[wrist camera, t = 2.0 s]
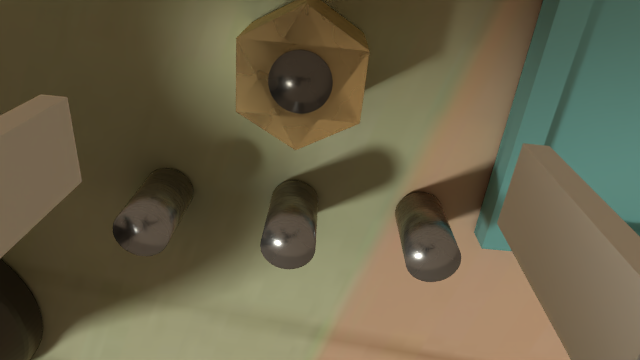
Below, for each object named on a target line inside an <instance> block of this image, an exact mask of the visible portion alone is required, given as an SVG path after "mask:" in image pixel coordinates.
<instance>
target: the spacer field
mask: <svg viewBox="0 0 640 360" xmlns="http://www.w3.org/2000/svg"><path fill="white" fill-rule="evenodd" d="M192 197H193V187H192V184H191V182H190V180H189V179H188V178H187V177H186V176H185V175H184V174H182V173H181V172H179V171H177V170H174V169H170V168H162V169H158V170H156V171H154V172H152V173H151V174H150V175H149V177H148V178H147V179H146V181H145V182H144V183H143V184H142V186H141V187H140V188H139V190H138V191H137V192H136V193H135V195H134V196H133V197H132V199H131V200H130V201H129V202H128V204H127V205H126V206H125V208H124V209H123V210H122V211H121V213H120V214H119V215H118V216H117V218H116V219H115V221H114V223H113V234H114V237H115V239H116V241H117V242H118V243H119V244H120V246H122V247H123V248H124V249H125V250H127V251H129V252H131V253H133V254H136V255H139V256H152V255H156V254H158V253H160V252H161V251H163V250H164V249H165V247H166V246H167V244H168V242H169V240H170V238H171V236H172V235H173V233H174V231H175V229H176V227H177V225H178V224H179V222H180V220H181V218H182V216H183V214H184V213H185V211H186V209H187V207H188V205H189V203H190V202H191V200H192ZM317 213H318V197H317V194H316V192H315V190H314V189H313V188H312V187H311V186H310V185H308V184H307V183H305V182H302V181H298V180H290V181H286V182H283V183H281V184H280V185H278V186H277V187H276V188H275V190H274V191H273V194H272V197H271V201H270V206H269V210H268V214H267V218H266V222H265V226H264V230H263V235H262V239H261V244H260V247H261V252H262V254H263V256H264V257H265V259H266V260H267V261H268V262H270V263H271V264H272V265H274V266H276V267H279V268H283V269H295V268H299V267H302V266H304V265H306V264H307V263H308V262H309V261H310V260H311V259H312V258H313V256H314V253H315V246H316V229H317ZM395 217H396V222H397V226H398V231H399V235H400V240H401V245H402V249H403V254H404V258H405V263H406V267H407V269H408V271H409V273H410V274H411V275H412V276H413V277H415V278H417V279H419V280H421V281H426V282H436V281H441V280H444V279H446V278H448V277H449V276H451V275H452V274H453V273H454V272H455V271H456V270H457V269H458V267H459V265H460V262H461V253H460V250H459V248H458V246H457V243H456V241H455V238H454V236H453V233H452V231H451V228H450V226H449V223H448V221H447V218H446V216H445V213H444V211H443V208H442V206H441V203H440V202H439V200H438V199H437V198H436V197H435V196H433V195H431V194H429V193H425V192H416V193H412V194H409V195H407V196H405V197H404V198H403V199H402V200H401V201H400V202H399V203H398V205H397V207H396V210H395Z"/></svg>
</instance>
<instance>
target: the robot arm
mask: <svg viewBox="0 0 640 360" xmlns="http://www.w3.org/2000/svg"><path fill="white" fill-rule="evenodd" d="M81 182H82V178H81V173H80V167H79V161H78V155H77V149H76V143H75V138H74V132H73V126H72V120H71V114H70V109H69V103H68V97H63V96H53V95H43V94H40V95H38V96H36V97H35V98H33V99H31V100H29V101H27V102H25V103H23V104H21V105H19V106H17V107H15V108H13V109H12V110H10V111H8V112H6V113H4V114H2V115H0V258H1V257H2V256H3V255H5V254H6V253H7V252H8V251H9V250H10V249H11V248H12V247H13V246H14V245H15V244H16V243H17V242H18V241H19V240H20V239H22V238H23V237H24V236H25V235H26V234H27V233H28V232H29V231H30V230H31V229H32V228H33V227H34V226H35V225H36V224H37V223H39V222H40V221H41V220H42V219H43V218H44V217H45V216H46V215H47V214H48V213H49V212H50V211H51V210H52V209H53V208H54V207H56V206H57V205H58V204H59V203H60V202H61V201H62V200H63V199H64V198H65V197H66V196H67V195H68V194H69V193H70V192H72V191H73V190H74V189H75V188H76V187H77V186H78V185H79V184H80V183H81ZM497 224H498V226H499V228H500V230H501V232H502V234H503V235H504V237H505V239H506V241H507V243H508V245H509V246H510V248H511V250H512V252H513V254H514V256H515V257H516V259H517V261H518V263H519V265H520V267H521V269H522V270H523V272H524V274H525V276H526V278H527V280H528V281H529V283H530V285H531V287H532V289H533V291H534V292H535V294H536V296H537V298H538V300H539V302H540V303H541V305H542V307H543V309H544V311H545V313H546V315H547V316H548V318H549V320H550V322H551V324H552V326H553V327H554V329H555V331H556V333H557V335H558V337H559V338H560V340H561V342H562V344H563V346H564V348H565V350H566V351H567V353H568V355H569V357H570V359H571V360H640V236H639V235H638V234H637V233H636V232H635V231H634V230H633V229H632V228H631V227H630V226H629V225H628V224H627V223H626V222H625V221H624V220H623V219H622V218H621V217H620V216H619V215H618V214H617V213H616V212H615V211H614V210H613V209H612V208H611V207H610V206H609V205H608V204H607V203H606V202H605V201H604V200H603V199H602V198H601V197H600V196H599V195H598V194H597V193H596V192H595V191H594V190H593V189H592V188H591V187H590V186H589V185H588V184H587V183H586V182H585V181H584V180H583V179H582V178H581V177H580V176H579V175H578V174H577V173H576V172H575V171H574V170H573V169H572V168H571V167H570V166H569V165H568V164H567V163H566V162H565V161H564V160H563V159H562V158H561V157H560V156H559V155H558V154H557V153H556V152H555V151H554V150H553V149H552V148H551V147H550V146H545V145H535V144H525V143H523V145H522V148H521V151H520V154H519V157H518V160H517V163H516V166H515V169H514V172H513V175H512V178H511V182H510V185H509V188H508V191H507V194H506V197H505V200H504V203H503V206H502V209H501V212H500V215H499V218H498V221H497ZM41 337H42V318H41V314H40V311H39V308H38V305H37V303H36V301H35V299H34V297H33V295H32V294H31V292H30V291H29V289H28V288H27V286H26V285H25V284H24V282H23V281H22V280H21V279H20V278H19V277H18V275H17V274H16V273H15V272H14V271H13V270H12V269H11V268H9V267H8V266H7V265H6V264H5V263H4V262H2V261H1V260H0V360H30V358H31V357H32V356H33V354H34V353H35V351H36V350H37V348H38V346H39V344H40V341H41Z"/></svg>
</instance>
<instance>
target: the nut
mask: <svg viewBox="0 0 640 360" xmlns="http://www.w3.org/2000/svg"><path fill="white" fill-rule="evenodd" d="M369 53H370V50H369V47H368V44H367V41H366V38H365V35H364V33H363V32H362V31H361V30H359V29H358V28H357V27H355V26H354V25H353V24H351V23H350V22H349V21H347V20H346V19H345V18H344V17H342V16H341V15H340V14H338V13H337V12H336V11H334V10H333V9H332V8H330V7H329V6H328V5H326V4H325V3H324V2H322V1H321V0H295V1H293V2H291V3H289V4H287V5H285V6H283V7H281V8H279V9H277V10H275V11H273V12H271V13H269V14H267V15H265V16H263V17H261V18H259V19H257V20H255V21H253V22H252V23H251V24H250V25H249V26H248V27H247V28H246V29H245V30H244V31H243V32H242V33H241V34H240V35H239V36H238V37H237V38H236V112H238V113H239V114H241V115H242V116H244V117H245V118H247V119H248V120H250V121H251V122H253V123H255V124H256V125H258V126H259V127H261V128H262V129H264V130H265V131H267V132H268V133H270V134H271V135H273V136H275V137H276V138H278V139H279V140H281V141H282V142H284V143H285V144H287V145H288V146H290V147H292V148H293V149H295V150H297V149H299V148H302V147H304V146H307V145H309V144H311V143H314V142H316V141H319V140H321V139H323V138H326V137H328V136H331V135H333V134H335V133H338V132H340V131H343V130H345V129H347V128H350V127H352V126H355V125H357V124H359V123H360V117H361V110H362V103H363V96H364V89H365V81H366V74H367V67H368V60H369Z"/></svg>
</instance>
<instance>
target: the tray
mask: <svg viewBox="0 0 640 360" xmlns="http://www.w3.org/2000/svg"><path fill="white" fill-rule="evenodd" d="M523 143H525V144H535V145H545V146H550V147H551V148H552V149H553V150H554V151H555V152H556V153H557V154H558V155H559V156H560V157H561V158H562V159H563V160H564V161H565V162H566V163H567V164H568V165H569V166H570V167H571V168H572V169H573V170H574V171H575V172H576V173H577V174H578V175H579V176H580V177H581V178H582V179H583V180H584V181H585V182H586V183H587V184H588V185H589V186H590V187H591V188H592V189H593V190H594V191H595V192H596V193H597V194H598V195H599V196H600V197H601V198H602V199H603V200H604V201H605V202H606V203H607V204H608V205H609V206H610V207H611V208H612V209H613V210H614V211H615V212H616V213H617V214H618V215H619V216H620V217H621V218H622V219H623V220H624V221H625V222H626V223H627V224H628V225H629V226H630V227H631V228H632V229H633V230H634V231H635V232H636V233H637V234H638V235H639V236H640V0H543V3H542V7H541V10H540V13H539V17H538V20H537V23H536V27H535V30H534V33H533V37H532V40H531V43H530V47H529V50H528V53H527V57H526V60H525V63H524V67H523V70H522V74H521V77H520V80H519V84H518V87H517V90H516V94H515V97H514V100H513V104H512V107H511V110H510V114H509V117H508V120H507V124H506V127H505V130H504V134H503V137H502V140H501V144H500V147H499V150H498V154H497V157H496V161H495V164H494V167H493V171H492V174H491V177H490V181H489V184H488V187H487V191H486V194H485V197H484V201H483V204H482V207H481V211H480V214H479V217H478V221H477V224H476V227H475V231H474V233H475V235H476V237H477V239H478V241H479V243H480V246H481V248H482V249H493V250H504V251H512V250H511V248H510V246H509V245H508V243H507V241H506V239H505V237H504V235H503V234H502V232H501V230H500V228H499V226H498V224H497V221H498V218H499V215H500V212H501V209H502V206H503V203H504V200H505V197H506V194H507V191H508V188H509V185H510V182H511V178H512V175H513V172H514V169H515V166H516V163H517V160H518V157H519V154H520V151H521V148H522V145H523Z"/></svg>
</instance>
